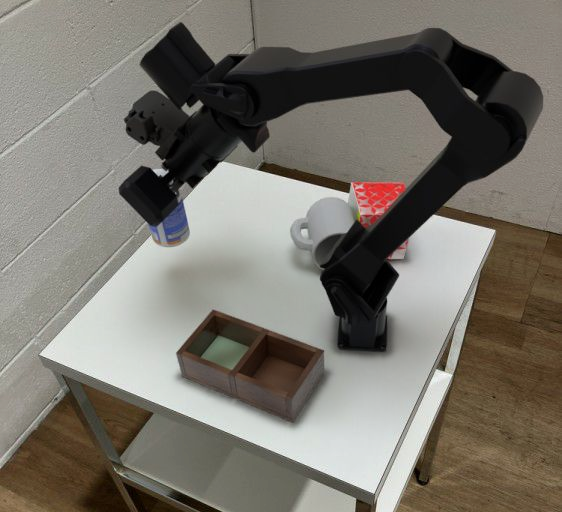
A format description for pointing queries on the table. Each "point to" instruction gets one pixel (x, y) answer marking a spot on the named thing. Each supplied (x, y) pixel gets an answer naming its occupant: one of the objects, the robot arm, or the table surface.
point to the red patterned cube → (375, 204)
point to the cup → (322, 227)
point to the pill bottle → (171, 224)
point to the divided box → (252, 364)
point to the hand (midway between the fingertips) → (153, 195)
